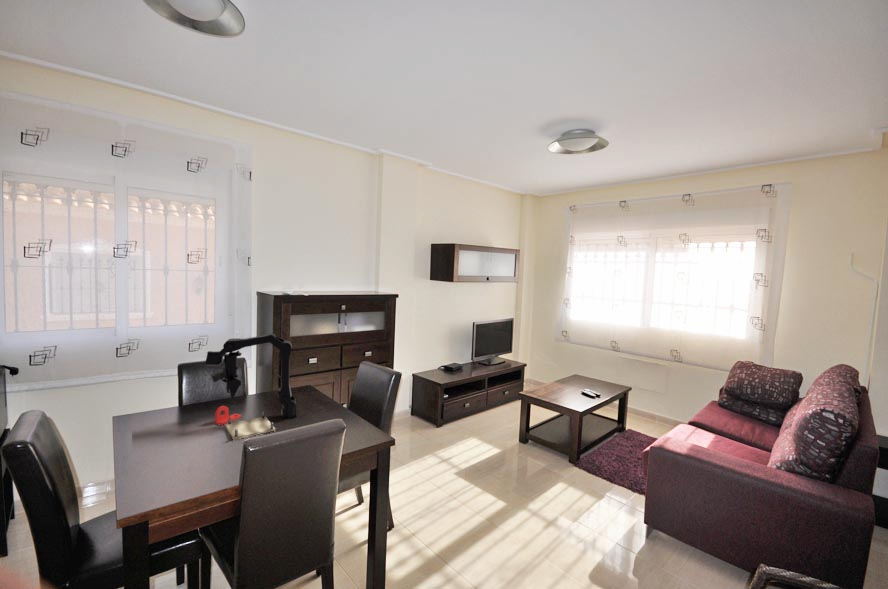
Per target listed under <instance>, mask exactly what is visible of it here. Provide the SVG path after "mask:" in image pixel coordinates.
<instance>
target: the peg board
mask: <svg viewBox="0 0 888 589" xmlns="http://www.w3.org/2000/svg"><path fill="white" fill-rule="evenodd" d="M225 428H226V430H227V432H228V434H229V435H231V436H230V438H231V437H232V438H231V439H233V440H235V441H238V440H237V439H240V440H242V439H241V438H243V437H244V439H248V438H253V437H257V436H262V435H264V434H260V433H266V432H270V431H274V432H270V433H267V434H271V433H276V427H275V426H274V422H273V421H270V420H269V419H268V417H267V416H265V411H261V416H260V417H256V418H249V419H245V420H244V419H243V420H241V421H240V420H239V421H235V422H234V421H233V422H231V417H229V418H228V423H227V424H225ZM255 434H260V435H256V436H251V435H255ZM267 434H266V435H267ZM248 436H249V437H248ZM245 437H247V438H245ZM233 440H232V441H233Z"/></svg>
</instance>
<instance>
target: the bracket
mask: <svg viewBox="0 0 888 589" xmlns="http://www.w3.org/2000/svg"><path fill="white" fill-rule="evenodd" d="M229 410H230V409H229V407H228V406H225V405H221V406H219V407H217V409H216V411H215V412H214V424H215V425H217V424H220V425H219V426H221V425H222V426H224V425H226V423H227V424H228V418H229V417H231V421H232V422H234V421H236V420H235V419H237V420H238V418H239V419H241V418H242V414H239V413H234V414H231V415H229V412H230V411H229ZM222 411H223V413H222V414H221V412H222ZM240 417H241V418H240ZM233 420H234V421H233ZM223 424H224V425H223Z"/></svg>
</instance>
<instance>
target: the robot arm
mask: <svg viewBox="0 0 888 589" xmlns="http://www.w3.org/2000/svg"><path fill="white" fill-rule="evenodd" d="M263 344H271V345H272V346H274V347H275V348H277V349H278V350H279V352H280V358H281V387H278V388H277V400H278V401H279V403H280V404H281V405H282V406H281V407H282V408H281V409H280V411H281V412H280V416H281V417H282V418H283V419H284V420H289V419H288V418H290V419H294V418H293V417H295V418H298V415H297V404H296V400H297V398H296V397H295V396H294V395H293V394H292V390H291V385H290V358H291V354H292V348H293V344H292V342H291V341H290V340H288V339H287V340H286V339H283V338H281V337H279V336H277V335H276V334H274V333H269V334H264V335H258V336H252V337H245V338H240V337H239V338H228V339H227V340H226V341H225V342H224V343H223V346H222V348H221V349H220V351H219V350H218V351H212V350H210V351H207V353H206V359H205V365H206V367H208V366H209V367H210V366H220V365H221V364H223V366H222V369H220V370H217V371H215V372H212V373H211V374H209V375H210V378H211V380H212V382H213V383H216V382H218V381H220V380H221V381H222V382H223V383H224V385H225V389H226V393H227V394H229V395H230V399H232V400H233V399H234V398H235V396H236V394H237V391H238V390H239V388H240V387H241V386H242V380H241V379H240V378H239V375H238V369H239V367H238V357H242V352H240V350H241V349H244V348H247V347H252V346H257V345H263Z"/></svg>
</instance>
